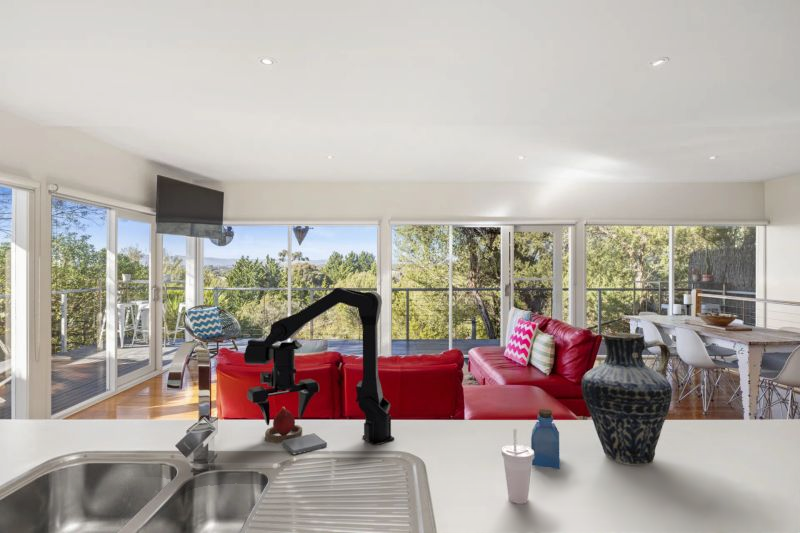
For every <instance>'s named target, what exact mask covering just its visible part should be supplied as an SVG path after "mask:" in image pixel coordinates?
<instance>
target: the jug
mask: <svg viewBox="0 0 800 533" xmlns="http://www.w3.org/2000/svg"><path fill="white" fill-rule="evenodd" d="M602 335H603V339H604V344H605V347H606V357H605V360H604V361H603V362H602V363H600V364H599V365H597V366H595V367H592V368H590V370H588V371H586V372H585V373H584V375H583V376H582V378H581V391H582V397H583V401H584V403H585V405H586V408H587V410H588V412H589V415H590V418H591V420H592V421H593V426H594V429H595V431H596V434H597V437H598V439H599V442H600V445H601V446H602V450H603V453H604V454H605V455H606V456H607V458H609V459H610V460H613V461H615V462H619V463H621V464H624V465H630V466H647V465H649V464H651V463H653V462H654V460H655V456H656V447H657V445H658V442H659V440H660V437H661V432H662V429H663V426H664V424H665V422H666V418H667V417H668V414H669V412H670V407H671V403H672V398H673V395H672V394H673V388H672V385H671V383H670V381H669V380H668V379H667V377H666V370H667V367H668V364H669V360H670V358H671V350H670V348H669V346H668V345H667V343H665V342H662V341H660V340H658V339H653V340H650V341H647V340H644V338H645V334H643V333H638V332H634V333H633V332H632V333H631V332H614V331H613V332H610V333H607V332H606V333H605V332H603V334H602ZM653 347H659V348H660V359H659V363H658V367H657V368H656V370H654V369H653V368H651V367H650V366H648V365H646V363H645V361H644V358H643V351H644V350H647V349H650V348H653Z"/></svg>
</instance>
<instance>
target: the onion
mask: <svg viewBox="0 0 800 533" xmlns="http://www.w3.org/2000/svg"><path fill="white" fill-rule="evenodd" d="M295 425H296V421H295V417H294V415H293V413H291V411H290V410H288V409H286V408H285V406H281V410H280V411H279V412H278V413H277V414H276V415H275V416H274V418H273V422H272V427H274V429H275V430H276V431H277V432H276V433H277V434H279V436H283V435H289V433H291V432H293V431H292V429H293V428H294V426H295Z"/></svg>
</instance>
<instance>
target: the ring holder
mask: <svg viewBox="0 0 800 533" xmlns="http://www.w3.org/2000/svg"><path fill="white" fill-rule="evenodd" d="M291 432H294V433H290V434H287V435H283V436H281V435H276V433H278V432H277V431H276V430H275V429H274V427H273V426H270V427H269V428H267V429H266V430H265V434H264V435H265V437H264V438H266V439H265V440H266V441H267V442H270V443H275V444H281V443H282V441H283V440H287V439H291V438H296V437H300V436H303V427H302V426H300V425H299V424H295V426H294V428H293V429H292V431H291Z"/></svg>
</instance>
